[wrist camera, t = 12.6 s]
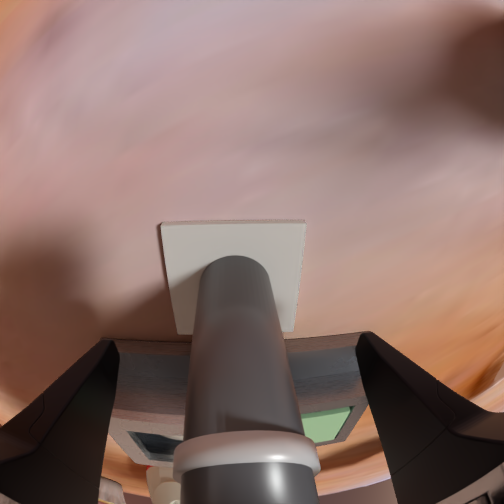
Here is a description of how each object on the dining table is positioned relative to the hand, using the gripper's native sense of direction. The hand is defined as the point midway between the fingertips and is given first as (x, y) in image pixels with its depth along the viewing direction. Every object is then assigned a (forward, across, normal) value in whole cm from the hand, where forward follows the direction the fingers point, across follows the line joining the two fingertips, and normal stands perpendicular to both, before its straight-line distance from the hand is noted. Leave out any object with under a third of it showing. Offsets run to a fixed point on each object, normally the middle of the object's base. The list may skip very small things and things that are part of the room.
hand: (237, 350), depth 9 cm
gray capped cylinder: (+4, 0, 0) cm, 4 cm away
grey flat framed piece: (+4, 0, +10) cm, 11 cm away
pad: (+4, 0, 0) cm, 4 cm away
